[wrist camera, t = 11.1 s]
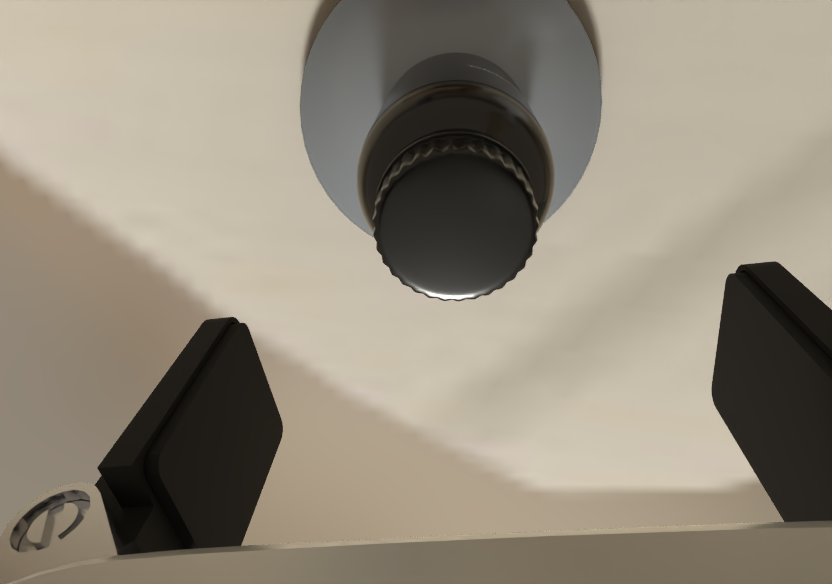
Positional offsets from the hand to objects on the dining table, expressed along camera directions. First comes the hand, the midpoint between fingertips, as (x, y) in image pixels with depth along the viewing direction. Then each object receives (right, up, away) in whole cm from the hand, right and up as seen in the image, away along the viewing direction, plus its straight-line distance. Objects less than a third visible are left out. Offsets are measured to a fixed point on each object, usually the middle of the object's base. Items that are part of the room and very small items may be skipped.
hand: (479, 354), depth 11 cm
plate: (0, +10, +16) cm, 19 cm away
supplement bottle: (0, +9, +15) cm, 18 cm away
